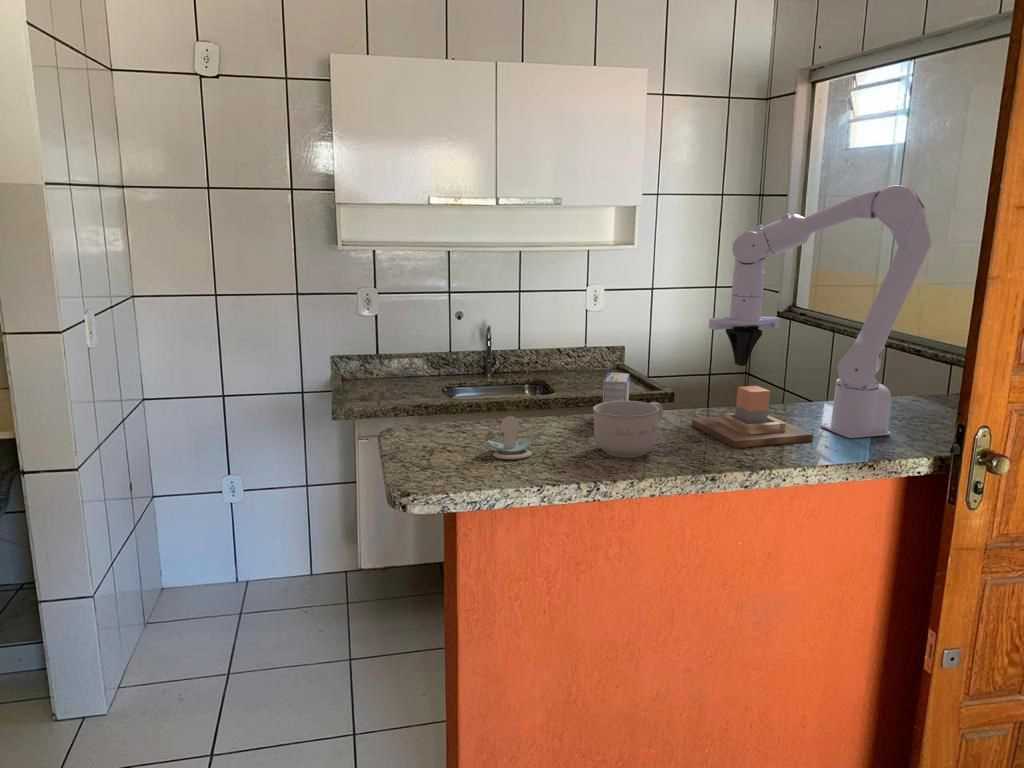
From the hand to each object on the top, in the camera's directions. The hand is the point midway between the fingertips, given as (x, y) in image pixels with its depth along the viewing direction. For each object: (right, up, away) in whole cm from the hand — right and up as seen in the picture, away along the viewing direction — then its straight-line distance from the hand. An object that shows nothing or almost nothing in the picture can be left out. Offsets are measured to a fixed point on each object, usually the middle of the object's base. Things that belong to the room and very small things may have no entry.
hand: (740, 364), depth 149 cm
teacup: (-25, -15, -22) cm, 36 cm away
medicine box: (-25, -11, -4) cm, 28 cm away
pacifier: (-45, -16, -25) cm, 54 cm away
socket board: (-1, -13, -10) cm, 16 cm away
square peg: (-1, -11, -10) cm, 15 cm away
